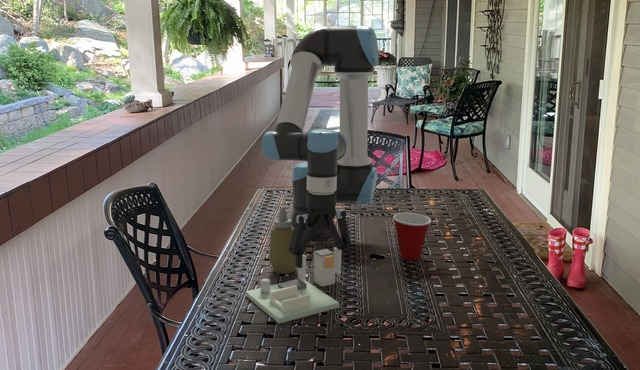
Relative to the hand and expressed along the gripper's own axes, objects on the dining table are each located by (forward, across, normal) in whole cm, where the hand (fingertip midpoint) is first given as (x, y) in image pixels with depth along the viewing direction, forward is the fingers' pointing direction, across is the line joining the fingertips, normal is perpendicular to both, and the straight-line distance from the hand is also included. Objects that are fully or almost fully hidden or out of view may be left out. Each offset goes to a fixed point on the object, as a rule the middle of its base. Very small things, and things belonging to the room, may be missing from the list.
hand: (319, 275), depth 166 cm
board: (+3, -11, -6) cm, 13 cm away
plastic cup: (+1, +33, +3) cm, 33 cm away
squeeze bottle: (+2, -3, +13) cm, 14 cm away
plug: (+2, +2, 0) cm, 3 cm away
